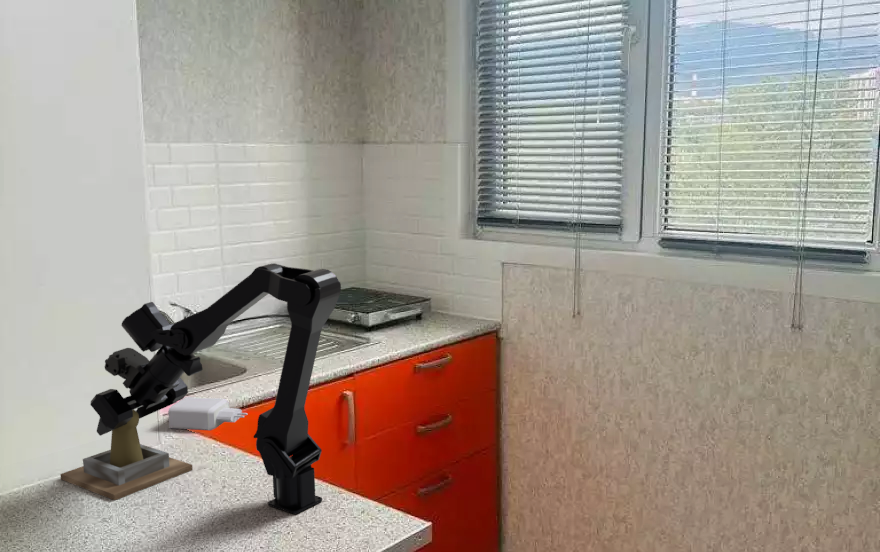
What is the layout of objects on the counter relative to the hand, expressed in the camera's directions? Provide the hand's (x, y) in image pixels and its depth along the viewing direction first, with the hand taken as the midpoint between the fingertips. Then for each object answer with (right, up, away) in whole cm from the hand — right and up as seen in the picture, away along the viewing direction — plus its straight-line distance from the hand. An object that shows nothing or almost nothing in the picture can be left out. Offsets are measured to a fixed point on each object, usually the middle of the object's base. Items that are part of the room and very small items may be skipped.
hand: (117, 425), depth 156 cm
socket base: (+1, -9, +1) cm, 9 cm away
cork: (+1, -8, +1) cm, 8 cm away
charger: (+10, -5, +28) cm, 30 cm away
